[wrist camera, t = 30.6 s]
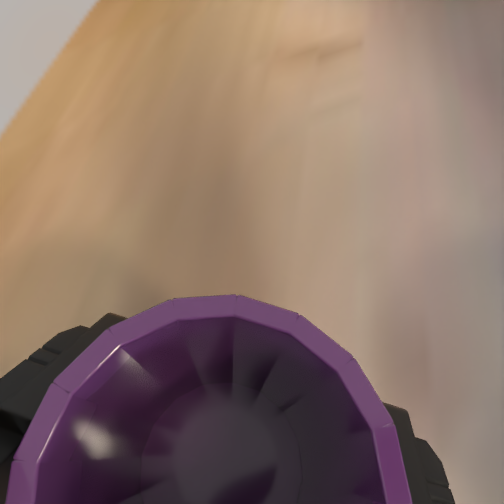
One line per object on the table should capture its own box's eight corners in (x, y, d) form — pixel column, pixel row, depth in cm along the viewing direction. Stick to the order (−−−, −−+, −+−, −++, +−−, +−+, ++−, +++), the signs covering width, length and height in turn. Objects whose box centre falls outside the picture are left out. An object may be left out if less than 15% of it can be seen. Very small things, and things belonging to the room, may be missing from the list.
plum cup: (328, 404, 14) (432, 354, 7) (283, 607, 11) (374, 868, 4) (173, 352, 14) (116, 254, 7) (100, 536, 12) (-97, 665, 5)
